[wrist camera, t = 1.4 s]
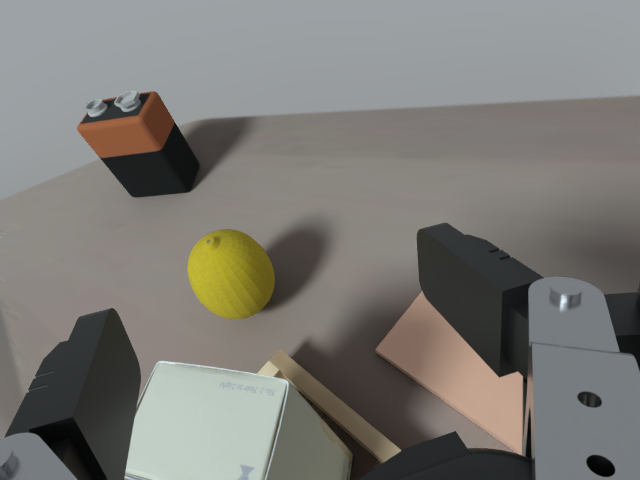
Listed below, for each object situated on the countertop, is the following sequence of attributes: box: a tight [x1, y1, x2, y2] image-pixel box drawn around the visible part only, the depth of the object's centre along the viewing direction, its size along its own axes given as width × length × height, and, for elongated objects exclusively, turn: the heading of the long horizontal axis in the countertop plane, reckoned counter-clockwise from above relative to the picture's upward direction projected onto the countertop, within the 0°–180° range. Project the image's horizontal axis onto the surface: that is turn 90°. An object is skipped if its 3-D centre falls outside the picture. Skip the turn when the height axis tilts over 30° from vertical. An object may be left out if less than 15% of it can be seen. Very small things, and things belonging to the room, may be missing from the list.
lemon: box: [187, 229, 275, 319], centre depth 30 cm, size 6×6×8 cm
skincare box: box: [124, 361, 353, 480], centre depth 20 cm, size 6×4×12 cm
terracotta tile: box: [375, 291, 523, 455], centre depth 27 cm, size 10×10×1 cm
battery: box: [77, 90, 199, 197], centre depth 41 cm, size 4×7×10 cm, turn 84°
